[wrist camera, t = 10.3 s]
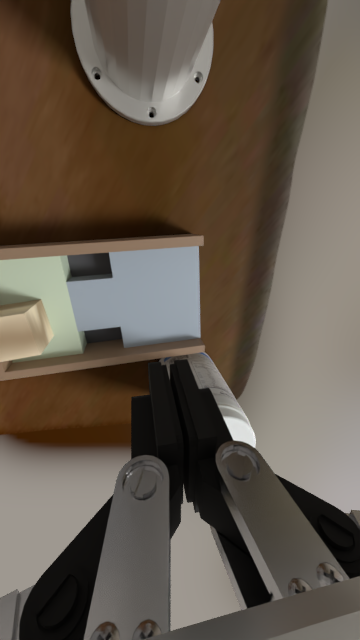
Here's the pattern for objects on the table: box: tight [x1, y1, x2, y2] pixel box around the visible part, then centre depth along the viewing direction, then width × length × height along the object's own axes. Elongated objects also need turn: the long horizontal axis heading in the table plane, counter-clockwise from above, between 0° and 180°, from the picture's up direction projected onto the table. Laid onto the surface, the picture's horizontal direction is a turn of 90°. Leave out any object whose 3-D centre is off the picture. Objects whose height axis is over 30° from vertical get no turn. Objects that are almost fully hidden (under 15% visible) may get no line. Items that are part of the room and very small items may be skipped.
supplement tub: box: [159, 352, 256, 448], centre depth 30 cm, size 10×10×15 cm
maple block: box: [0, 299, 54, 362], centre depth 25 cm, size 4×4×4 cm
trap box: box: [0, 234, 205, 381], centre depth 28 cm, size 14×24×5 cm, turn 93°
